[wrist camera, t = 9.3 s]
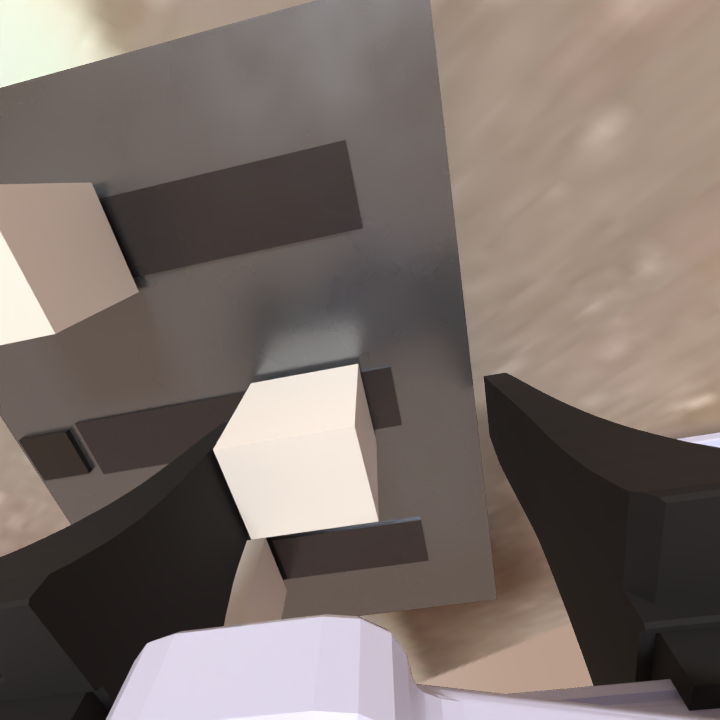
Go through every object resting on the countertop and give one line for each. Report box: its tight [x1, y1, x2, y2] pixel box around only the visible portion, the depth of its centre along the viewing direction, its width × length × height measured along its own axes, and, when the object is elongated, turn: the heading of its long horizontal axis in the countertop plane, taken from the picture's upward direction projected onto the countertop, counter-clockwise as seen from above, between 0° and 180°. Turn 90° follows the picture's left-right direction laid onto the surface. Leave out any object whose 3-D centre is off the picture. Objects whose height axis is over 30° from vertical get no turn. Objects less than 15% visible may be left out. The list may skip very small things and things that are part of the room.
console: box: [0, 0, 497, 619], centre depth 15 cm, size 16×21×2 cm
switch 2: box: [224, 538, 287, 626], centre depth 15 cm, size 4×3×4 cm
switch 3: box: [213, 364, 379, 540], centre depth 12 cm, size 4×3×4 cm
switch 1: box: [0, 182, 139, 345], centre depth 10 cm, size 4×3×4 cm
